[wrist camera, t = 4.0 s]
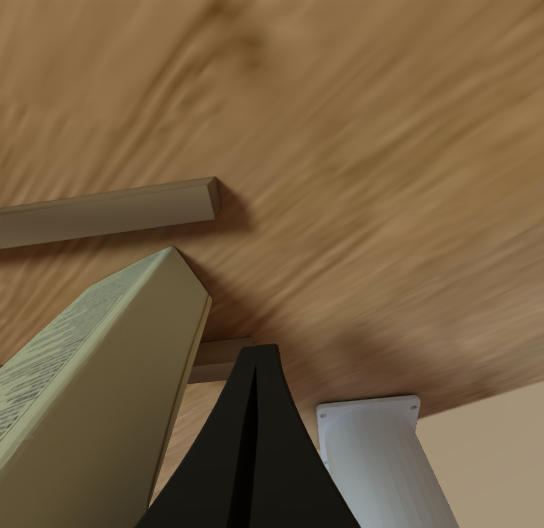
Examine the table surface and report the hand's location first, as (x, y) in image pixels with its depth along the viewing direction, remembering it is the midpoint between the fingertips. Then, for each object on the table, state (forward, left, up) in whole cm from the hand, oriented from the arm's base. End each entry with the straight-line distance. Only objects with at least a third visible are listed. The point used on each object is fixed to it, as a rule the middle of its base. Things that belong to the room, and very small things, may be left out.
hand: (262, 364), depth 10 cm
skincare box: (0, +7, -7) cm, 10 cm away
